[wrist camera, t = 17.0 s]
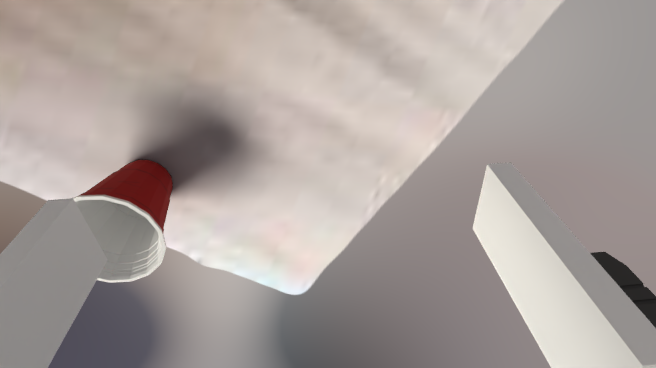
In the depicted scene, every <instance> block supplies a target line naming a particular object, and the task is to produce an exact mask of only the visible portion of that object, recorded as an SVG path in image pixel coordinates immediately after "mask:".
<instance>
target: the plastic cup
mask: <svg viewBox="0 0 656 368" xmlns="http://www.w3.org/2000/svg"><path fill="white" fill-rule="evenodd" d="M172 184H173V183H172V179H171V176H170V174H169V173H168V171H167V170H166V169H165V168H164V167H162V166H161V165H160V164H158V163H156V162H153V161H150V160H137V161H134V162H132V163H129V164H127V165H125V166H124V167H123V168H121V169H120V170H118V171H117V172H114V173H112V174H111V175H110V176H108V177H107V178H105V179H104V180H102V181H101V182H100V183H98V184H97V185H95V186H94V187H92V188H91V189H90V190H88V191H87V192H85V193H83V194H81V195H79V196H77V197H75V198H73V199H74V201H75V203H76V205H77V206H78V208H79V210H80V212H81V213H82V215H83V217H84V219H85V220H86V222H87V224H88V226H89V227H90V229H91V231H92V233H93V234H94V236H95V238H96V240H97V241H98V243H99V245H100V247H101V248H102V250H103V252H104V254H105V256H106V257H107V259H108V260H107V262H106V264H105V266H104V267H103V269H102V271H101V273H100V275H99V276H98V278H97V280H100V281H105V282H128V281H133V280H136V279H139V278H142V277H145V276H147V275H150V274H151V273H152V272H153V271H154V270H155V269H156V268H157V267H158V266H159V265H160V264H161V263H162V260H163V256H164V254H165V250H166V244H165V240H164V236H163V231H164V229H163V227H164V223H165V218H166V214H167V210H168V206H169V202H170V199H169V198H170V195H171V191H172V188H173V186H172Z"/></svg>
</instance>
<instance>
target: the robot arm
mask: <svg viewBox="0 0 656 368" xmlns="http://www.w3.org/2000/svg"><path fill="white" fill-rule="evenodd" d="M473 230H474V232H475V233H476V235H477V237H478V239H479V241H480V242H481V244H482V246H483V248H484V249H485V251H486V253H487V255H488V257H489V258H490V260H491V262H492V263H493V265H494V267H495V269H496V271H497V272H498V274H499V276H500V278H501V280H502V281H503V283H504V285H505V287H506V288H507V290H508V292H509V294H510V296H511V297H512V299H513V301H514V302H515V304H516V306H517V308H518V310H519V311H520V313H521V315H522V317H523V319H524V320H525V322H526V324H527V325H528V327H529V329H530V331H531V333H532V334H533V336H534V338H535V340H536V342H537V343H538V345H539V347H540V349H541V350H542V352H543V354H544V356H545V357H546V359H547V361H548V363H549V365H550V366H551V368H656V296H655V295H654V294H653V293H652V292H651V291H650V290H649V289H648V288H647V287H644V286H643V283H642V282H641V281H640V280H639V278H638V277H637V276H636V275H635V274H634V273H633V272H632V271H631V270H630V269H629V268H628V267H627V266H626V265H624V264H623V263H621V262H620V261H618V260H617V259H615V258H614V257H612V256H611V255H609V254H607V253H606V252H597V253H589V251H588V250H587V249H586V248H585V247H584V246H583V245H582V243H581V242H580V241H579V240H578V239H577V238H576V236H575V235H574V234H573V233H572V232H571V231H570V230H569V228H568V227H567V226H566V225H565V224H564V223H563V222H562V220H561V219H560V218H559V217H558V216H557V215H556V214H555V213H554V211H553V210H552V209H551V208H550V207H549V206H548V204H547V203H546V202H545V201H544V200H543V199H542V198H541V196H540V195H539V194H538V193H537V192H536V191H535V190H534V189H533V187H532V186H531V185H530V184H529V183H528V182H527V180H526V179H525V178H524V177H523V176H522V175H521V174H520V172H519V171H518V170H517V169H516V168H515V167H514V166H513V165H512V163H498V164H488V165H487V168H486V172H485V176H484V181H483V185H482V190H481V194H480V199H479V203H478V207H477V212H476V216H475V220H474V225H473ZM107 260H108V259H107V257H106V256H105V254H104V252H103V250H102V248H101V247H100V245H99V243H98V241H97V240H96V238H95V236H94V234H93V233H92V231H91V229H90V227H89V226H88V224H87V222H86V220H85V219H84V217H83V215H82V213H81V212H80V210H79V208H78V206H77V205H76V203H75V201H74V199H73V198H71V199H59V200H48V201H47V202H46V203H45V205H44V206H43V207H42V208H41V209H40V210H39V211H38V212H37V213H36V215H35V216H34V217H33V218H32V219H31V220H30V221H29V223H28V224H27V225H26V226H25V227H24V228H23V229H22V230H21V232H20V233H19V234H18V235H17V236H16V237H15V238H14V239H13V241H12V242H11V243H10V244H9V245H8V246H7V247H6V248H5V250H4V251H3V252H2V253H1V254H0V368H48V366H49V364H50V362H51V361H52V359H53V357H54V355H55V353H56V352H57V350H58V348H59V346H60V344H61V343H62V341H63V339H64V337H65V336H66V334H67V332H68V330H69V328H70V326H71V325H72V323H73V321H74V319H75V318H76V316H77V314H78V312H79V310H80V309H81V307H82V305H83V303H84V301H85V300H86V298H87V296H88V294H89V292H90V291H91V289H92V287H93V285H94V284H95V282H96V280H97V278H98V276H99V275H100V273H101V271H102V269H103V267H104V266H105V264H106V262H107Z"/></svg>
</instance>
